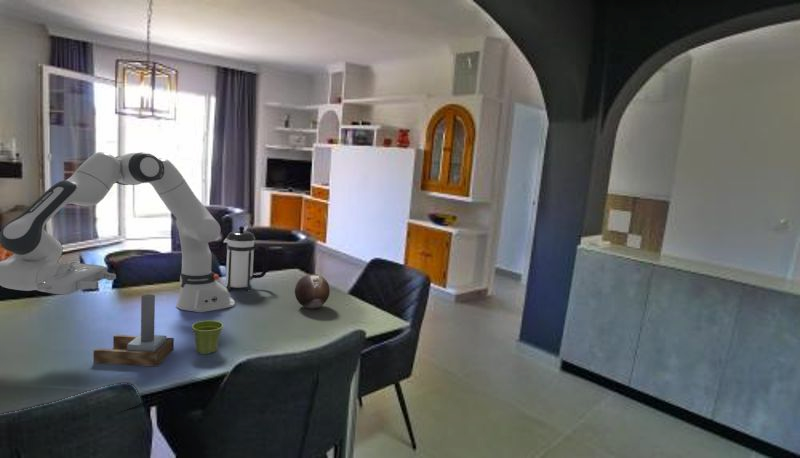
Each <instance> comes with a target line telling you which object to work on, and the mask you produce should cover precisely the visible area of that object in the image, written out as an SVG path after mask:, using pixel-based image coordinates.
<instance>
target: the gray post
mask: <svg viewBox="0 0 800 458" xmlns="http://www.w3.org/2000/svg"><path fill="white" fill-rule="evenodd" d="M140 299H141V301H140V303H141V304H140V305H141V308H140V311H141V312H140V333H139V335H136V336H137V337H136V338H135V339H133V340H132V341H131V342H130V343H128V344H127V350H132V351H150V352H155V351H156V350H157V349H158V348H160V347H161V346H162V345H163V344H164V343H165V342H166V338H167V335H160V334H159V335H158V334H155V317H156V315H155V313H156V312H155V309H156V308H155V305H156V303H155V302H156V301H155V299H156V295H154V294H144V295H141V297H140Z"/></svg>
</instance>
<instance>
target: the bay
mask: <svg viewBox="0 0 800 458" xmlns="http://www.w3.org/2000/svg"><path fill="white" fill-rule="evenodd" d="M137 336H138V335H129V334H128V335H127V334H114V335H113V336H112V337H113V342H112V343H113V344H112V345H113V346H112V348H110V349H109V348H95V349H93V364H103V365H104V364H105V365H107V364H108V365H124V366H141V367H142V366H145V367H158V366H159V365H160V364H161V363H162V362H163V361H164V360H165V359H166V358H167V357H168V356H169V355H170V354H171V353H172V352H173V351H174V348H175V347H174V346H175V344H174V343H175V342H174V341H175V339H174V338H175V337H166V342H165V343H164V344H163V345H162V346H161V347H160V348H158V349H157V350H156V351H155V352H150V351H132V350H127V344H128V343H130V342H131V341H132V340H133V339H135V338H136V337H137Z"/></svg>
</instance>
